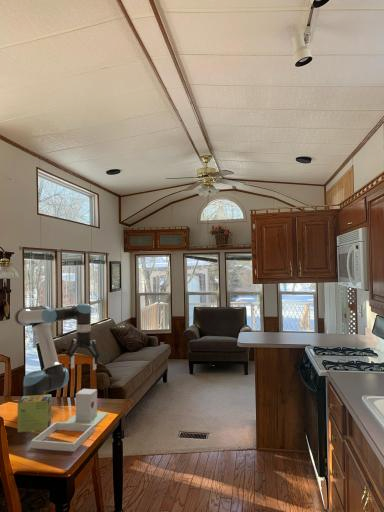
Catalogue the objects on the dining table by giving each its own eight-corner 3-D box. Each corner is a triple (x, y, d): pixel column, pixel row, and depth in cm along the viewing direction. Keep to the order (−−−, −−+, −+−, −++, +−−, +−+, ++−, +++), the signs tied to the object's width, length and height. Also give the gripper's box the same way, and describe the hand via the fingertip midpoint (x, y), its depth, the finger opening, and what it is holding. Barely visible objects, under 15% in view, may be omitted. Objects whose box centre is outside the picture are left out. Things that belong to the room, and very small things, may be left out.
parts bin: (31, 448, 183) (31, 440, 183) (55, 428, 205) (55, 421, 205) (74, 451, 179) (74, 444, 179) (94, 431, 201) (94, 424, 201)
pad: (63, 425, 208) (63, 423, 208) (78, 413, 226) (78, 411, 226) (94, 427, 205) (94, 425, 205) (107, 414, 223) (107, 413, 223)
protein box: (48, 430, 203) (48, 400, 203) (17, 432, 200) (17, 402, 201) (52, 422, 213) (51, 394, 214) (22, 424, 211) (22, 395, 211)
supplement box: (90, 422, 210) (90, 394, 210) (75, 420, 212) (75, 393, 212) (97, 415, 219) (97, 389, 219) (83, 414, 221) (83, 388, 221)
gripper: (60, 331, 218) (59, 369, 218) (101, 333, 213) (101, 371, 213) (67, 329, 225) (66, 365, 225) (107, 331, 220) (106, 368, 220)
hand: (83, 368), depth 219 cm, fingers open, 13 cm apart
